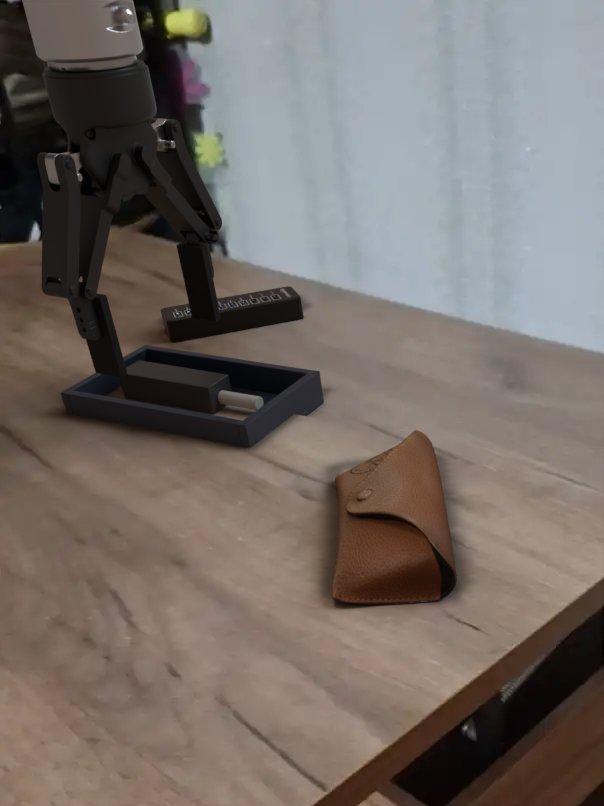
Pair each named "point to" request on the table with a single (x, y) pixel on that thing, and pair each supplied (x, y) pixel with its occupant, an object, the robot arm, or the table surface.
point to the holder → (273, 383)
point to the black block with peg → (183, 388)
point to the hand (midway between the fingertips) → (161, 344)
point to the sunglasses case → (393, 529)
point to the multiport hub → (235, 314)
